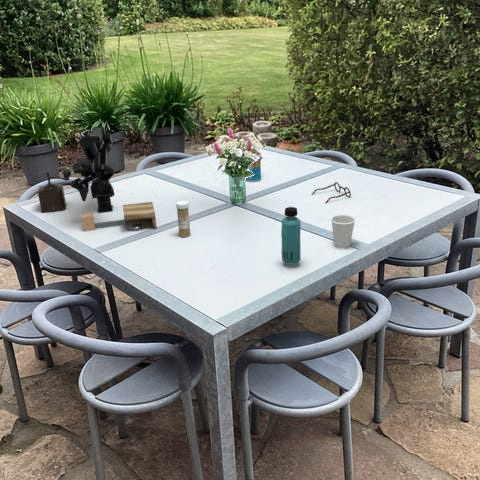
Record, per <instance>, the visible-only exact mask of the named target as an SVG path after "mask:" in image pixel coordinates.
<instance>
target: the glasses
mask: <svg viewBox="0 0 480 480" xmlns="http://www.w3.org/2000/svg"><path fill="white" fill-rule="evenodd" d="M337 186H338V188H339V189H337ZM332 187H334V189H335V191H336V192H338V193H340V192H341V191H342V190H343V193H341V194H339V195H337V196H331V197H328V199H327V200H326V201H325V202H324V204H327V203H328V202H330V201H331V199H337V198H341V197H342V196H346V197H347V198H351V197H352V193H351V190H350V188H349V187H347V186H346V187H343V186H341V185H340V184H339V183H338V181H335V182H334V183H333V184H331V185H327V186H326V187H323V188H322V187H321V188H316V189H314V191H313V192H312V193H311V196H314V194H315V193H316V192H317V191H321V190H322V191H324V190H326V189H329V188H332ZM346 191H347V192H346ZM348 194H349V195H348Z"/></svg>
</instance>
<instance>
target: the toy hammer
mask: <svg viewBox="0 0 480 480" xmlns="http://www.w3.org/2000/svg"><path fill="white" fill-rule="evenodd" d="M82 222H83V228H84V231H85V232H90V231H96V230H97V229H104V228H111V227H118V226H119V227H121V226H126V222H125V220H124V219H117V220H110V221H100V222H95V216H94V212H87V213H82Z"/></svg>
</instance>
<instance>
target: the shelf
mask: <svg viewBox="0 0 480 480" xmlns="http://www.w3.org/2000/svg"><path fill="white" fill-rule="evenodd" d="M122 209H123V210H122V211H123V212H122V213H123V220H125V223H127V222H137V221H145V220H146V221H147V220H151V224H152V227H153V230H157V229H158V227H157V220H156V212H155V208H154V203H153V201H149V202H147V201H146V202H138V203H130V204H122Z"/></svg>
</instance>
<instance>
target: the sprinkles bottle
mask: <svg viewBox="0 0 480 480" xmlns="http://www.w3.org/2000/svg"><path fill="white" fill-rule="evenodd" d="M175 206H176V207H175V208H176V210H177V212H176V214H177V226H178V235H179V237H181V238H188V237H190V236H191V234H192V233H191V225H190V224H191V223H190V212H189V207H190V206H189V202H188V201H187V200H179V201H177V202H176V203H175Z"/></svg>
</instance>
